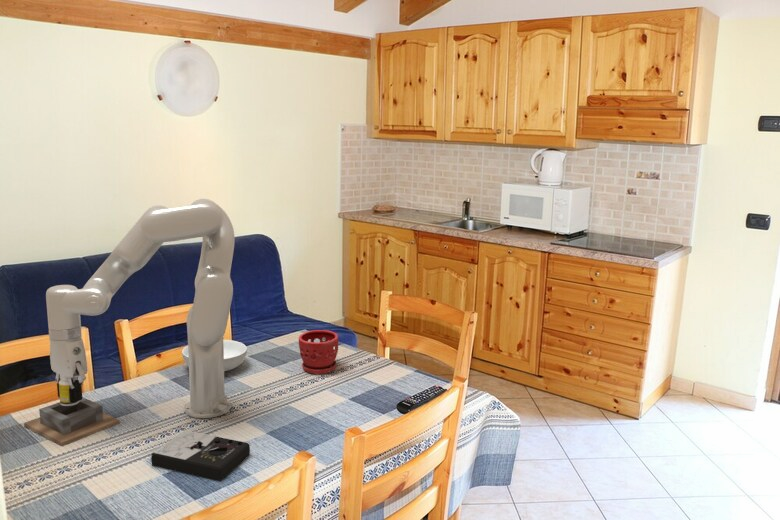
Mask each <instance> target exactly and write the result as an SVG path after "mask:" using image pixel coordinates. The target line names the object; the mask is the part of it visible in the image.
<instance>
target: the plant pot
mask: <svg viewBox="0 0 780 520" xmlns="http://www.w3.org/2000/svg"><path fill="white" fill-rule="evenodd" d="M323 338H325V340H323ZM316 339H318V340H319V342H315V340H316ZM309 340H310V341H309ZM298 347H299V354H300V357H301V360H302V364H301V367H302V369H303V370H304V371H305V372H307V373H309V374H314V375H315V374H316V375H321V374H327V372H328V373H331V372H332V371H333V370H335V369H336V367H337V361H336V359H337V356H338V352H339V335H338V333H336V332H335V331H331V330H327V329H325V330H324V329H323V330H322V329H316V330H315V329H313V330H309V331H306V332H303V333H300V335H299V336H298Z"/></svg>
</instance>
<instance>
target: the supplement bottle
mask: <svg viewBox="0 0 780 520" xmlns="http://www.w3.org/2000/svg"><path fill="white" fill-rule="evenodd" d="M74 375H77V374H76V373H74V374H73V376H74ZM75 380H77V378H74V379H73V382H74V381H75ZM69 388H70V384H69V379H68V377H65V376H63V375H60V381H59V393H60V398H59V402H60V404H61V405H62V406H72V405H76V404H78V403H79V402H80V400H79V401H77V402H74V403H70V399H69Z"/></svg>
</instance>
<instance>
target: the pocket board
mask: <svg viewBox="0 0 780 520" xmlns="http://www.w3.org/2000/svg"><path fill="white" fill-rule="evenodd" d="M38 411H39V417H37V418H34V419H32V420H29V421H26V422H23V426H24V428H26V429H28V430H30V431H32V432H34V433H36V434H38V435H40V436H42V437H43V438H45V439H48V440H49V441H52V442H53V443H55V444H57V445H58V446H61V447H64V446H66V445H68V444H70V443H73V442H76V441H78V440H80V439H83V438H87V437H88V436H91V435H93V434H96V433H99V432H101V431H103V430H106V429H108V428H111V427H114V426H116V425H118V424H120V422H121V421H120V419H119V418H116V417H114V416H112V415H110V414H107V413H106V412H104V411H103V405H101V404H99V403H98V402H94V401H92V400H90V399H88V398H86V397H83V396H82V400H80V402H79V403H78V404H76V405H72V406H62V405H61V404H60V401H59V402H55V403H54V404H50V405H47V406H45V407H41V408H39V410H38Z"/></svg>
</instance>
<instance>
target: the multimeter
mask: <svg viewBox="0 0 780 520" xmlns="http://www.w3.org/2000/svg"><path fill="white" fill-rule="evenodd" d="M250 451H251V447H250V444H249V443H248V442H245V441H241V440H235V439H231V438H226V437H220V436H216V435H210V434H205V433H201V432H195V431H193V430H192V431H191V430H184V431H182V432H180V433H179V434H178V435H176V436H175V437H173V438H172V439H171V440H169V441H167V442H166V443H164V444H163V445H162V446H160V447H159V448H158V449H156V450H154V451H153V452H152V453H151V454H150V455H151V458H150V460H151V461H150V462H151V465H152V466H153V467H157V468H160V469H165V470H170V471H174V472H179V473H182V474H188V475H191V476H195V477H199V478H200V477H201V478H204V479H209V480H214V481H219V482H220V481H222V480H223V479H225V478H226V477H227V476H228V475H229V474H230V473H231V472H233V470H236V468H237V467H238V466H239V465H241V464H242V463H243V462H244V461H245V460H246V459H248V457H250V454H251V452H250Z"/></svg>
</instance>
